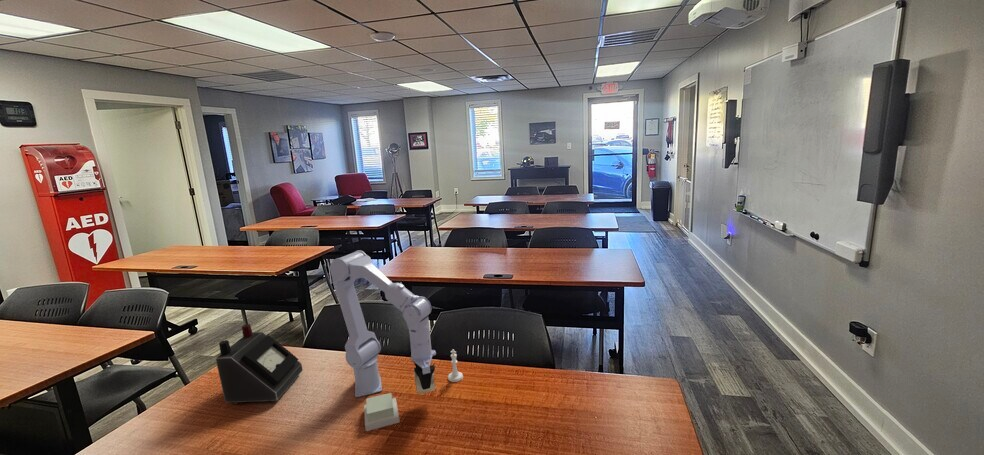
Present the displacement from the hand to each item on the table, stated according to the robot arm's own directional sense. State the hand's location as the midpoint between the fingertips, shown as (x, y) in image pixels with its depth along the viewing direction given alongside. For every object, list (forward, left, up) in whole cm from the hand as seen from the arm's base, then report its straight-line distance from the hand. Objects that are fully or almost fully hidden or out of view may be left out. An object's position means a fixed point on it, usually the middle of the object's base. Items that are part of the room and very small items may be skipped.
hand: (424, 382), depth 117 cm
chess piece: (-9, +11, -7) cm, 16 cm away
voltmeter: (-28, -47, -7) cm, 55 cm away
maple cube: (0, 0, -2) cm, 2 cm away
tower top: (+1, -13, -5) cm, 14 cm away
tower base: (+1, -13, -7) cm, 15 cm away
